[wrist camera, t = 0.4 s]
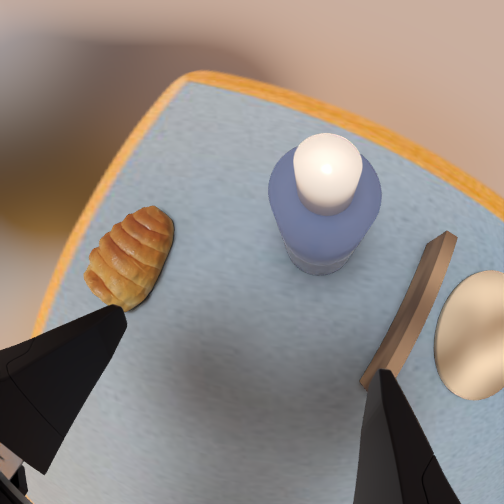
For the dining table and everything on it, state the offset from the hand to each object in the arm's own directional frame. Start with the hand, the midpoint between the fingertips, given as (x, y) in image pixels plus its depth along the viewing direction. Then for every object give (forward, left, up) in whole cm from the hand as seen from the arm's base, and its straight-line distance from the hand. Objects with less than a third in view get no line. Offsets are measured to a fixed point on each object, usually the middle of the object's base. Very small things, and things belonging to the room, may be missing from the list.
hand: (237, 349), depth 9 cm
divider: (-3, -9, -13) cm, 16 cm away
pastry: (+10, +10, -13) cm, 20 cm away
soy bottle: (+5, -6, -13) cm, 15 cm away
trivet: (-9, -15, -13) cm, 22 cm away
